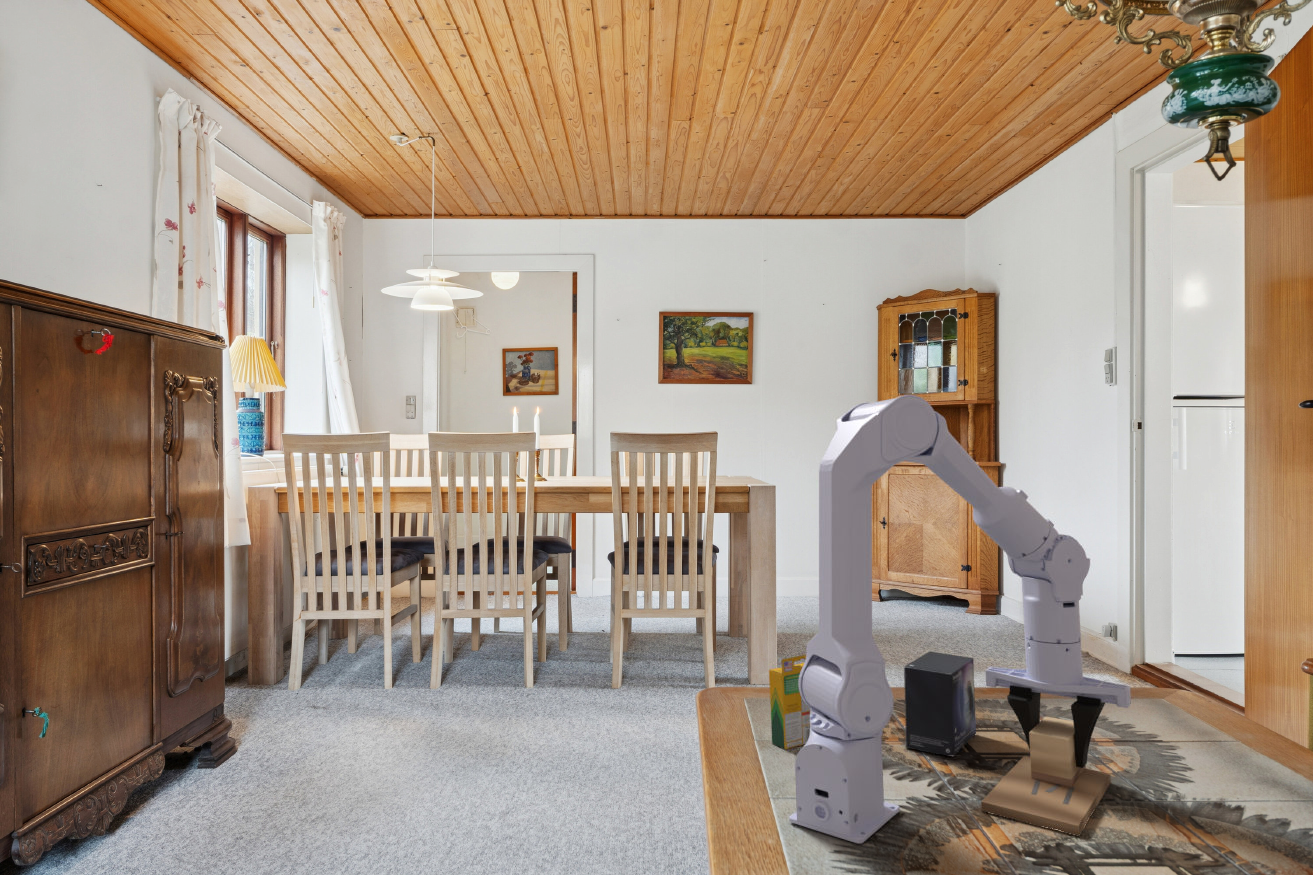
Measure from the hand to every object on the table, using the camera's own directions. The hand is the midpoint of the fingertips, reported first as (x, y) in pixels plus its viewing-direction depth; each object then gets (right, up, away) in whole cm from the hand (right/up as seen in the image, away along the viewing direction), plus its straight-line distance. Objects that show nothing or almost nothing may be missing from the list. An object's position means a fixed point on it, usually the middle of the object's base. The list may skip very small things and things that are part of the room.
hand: (1058, 759), depth 85 cm
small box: (-8, -4, +13) cm, 16 cm away
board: (-3, -2, -4) cm, 5 cm away
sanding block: (0, -1, 0) cm, 1 cm away
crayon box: (-27, -4, +15) cm, 31 cm away
